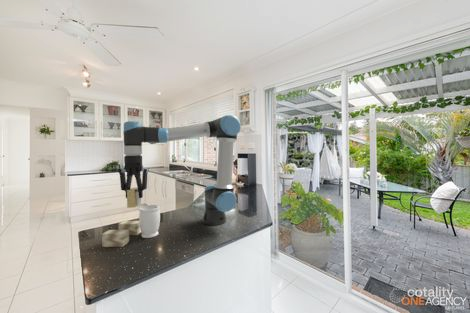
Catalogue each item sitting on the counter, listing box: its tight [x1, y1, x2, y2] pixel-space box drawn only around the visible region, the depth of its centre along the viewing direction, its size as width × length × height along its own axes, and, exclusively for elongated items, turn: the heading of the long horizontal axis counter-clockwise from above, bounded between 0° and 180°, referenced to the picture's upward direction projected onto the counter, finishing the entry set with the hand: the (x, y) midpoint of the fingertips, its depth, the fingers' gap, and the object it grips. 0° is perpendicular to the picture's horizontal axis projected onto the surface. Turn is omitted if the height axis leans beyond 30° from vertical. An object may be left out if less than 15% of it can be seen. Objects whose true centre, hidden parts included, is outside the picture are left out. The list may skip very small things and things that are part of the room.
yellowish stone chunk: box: [126, 187, 138, 209], centre depth 95 cm, size 4×6×8 cm, turn 0°
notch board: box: [101, 220, 142, 248], centre depth 104 cm, size 10×18×6 cm, turn 179°
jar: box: [138, 204, 161, 239], centre depth 108 cm, size 11×10×15 cm
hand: (134, 204), depth 95 cm, fingers closed on yellowish stone chunk, 3 cm apart
